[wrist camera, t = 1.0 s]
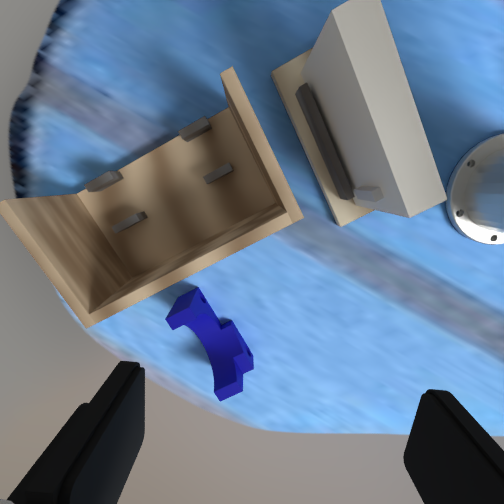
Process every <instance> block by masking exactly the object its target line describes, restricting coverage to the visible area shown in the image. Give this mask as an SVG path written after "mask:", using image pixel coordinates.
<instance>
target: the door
mask: <svg viewBox="0 0 504 504" xmlns="http://www.w3.org/2000/svg"><path fill="white" fill-rule="evenodd" d="M300 74H301V76H302V79H303V81H304V83H308V86H309V88H310V91H311V93H312V95H313V98H314V100H315V103H316V105H317V107H318V110H319V112H320V115H321V117H322V119H323V122H324V124H325V127H326V129H327V131H328V134H329V136H330V138H331V141H332V143H333V146H334V148H335V150H336V153H337V155H338V158H339V160H340V162H341V165H342V167H343V170H344V172H345V174H346V177H347V179H348V182H349V184H350V186H351V189H352V191H353V193H354V196H355V197H353V200H354V202H355V205H356V206H361V207H365V208H369V209H374V210H378V211H382V212H386V213H391V214H395V215H399V216H403V217H408V218H411V217H413V216H415V215H417V214H419V213H421V212H423V211H425V210H427V209H429V208H431V207H433V206H435V205H437V204H439V203H441V202H443V201H445V200H447V197H446V194H445V191H444V188H443V185H442V182H441V179H440V176H439V173H438V170H437V167H436V164H435V161H434V158H433V155H432V152H431V149H430V146H429V143H428V140H427V137H426V134H425V131H424V128H423V125H422V122H421V119H420V116H419V113H418V110H417V107H416V105H415V102H414V99H413V96H412V93H411V90H410V87H409V84H408V81H407V78H406V75H405V72H404V69H403V66H402V63H401V60H400V57H399V54H398V51H397V48H396V45H395V42H394V39H393V36H392V33H391V30H390V27H389V24H388V21H387V18H386V15H385V12H384V9H383V6H382V3H381V0H348V1H347V2H345V3H343V4H342V5H340V6H338V7H336V8H335V9H333V10H331V12H330V15H329V17H328V19H327V21H326V23H325V25H324V27H323V29H322V31H321V33H320V35H319V37H318V39H317V41H316V43H315V45H314V47H313V49H312V51H311V53H310V55H309V57H308V59H307V61H306V63H305V65H304V67H303V69H302V71H301V73H300Z"/></svg>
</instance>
